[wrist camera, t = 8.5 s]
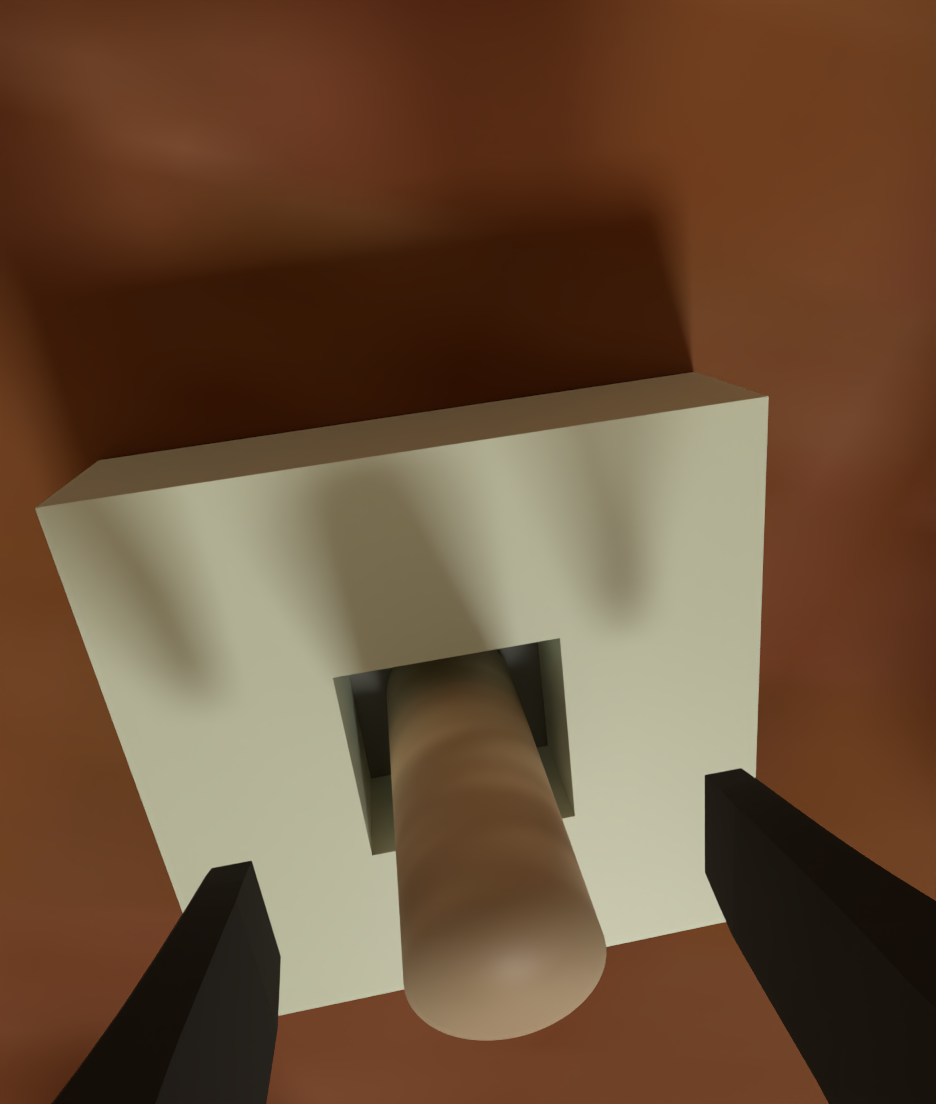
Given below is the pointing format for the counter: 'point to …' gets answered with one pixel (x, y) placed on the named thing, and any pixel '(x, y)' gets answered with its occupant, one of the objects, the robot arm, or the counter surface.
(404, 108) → the counter surface
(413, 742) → the dowel
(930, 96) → the counter surface
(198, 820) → the hole block
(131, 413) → the counter surface
